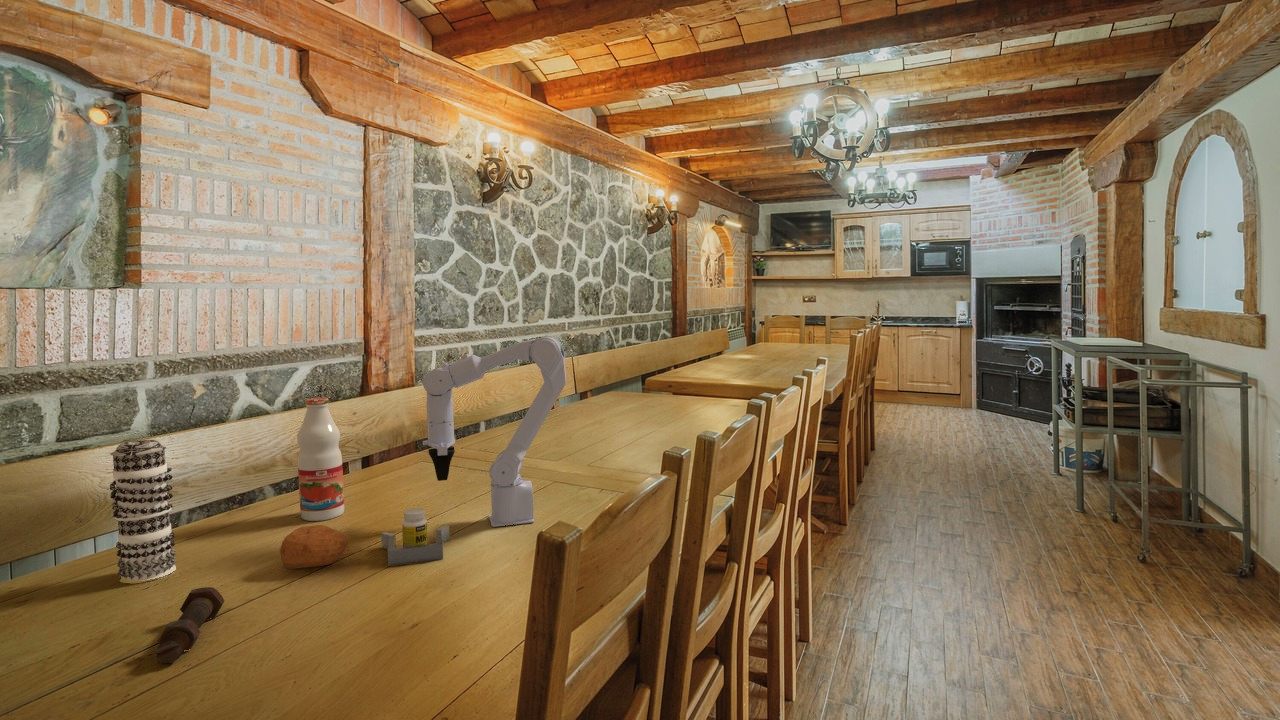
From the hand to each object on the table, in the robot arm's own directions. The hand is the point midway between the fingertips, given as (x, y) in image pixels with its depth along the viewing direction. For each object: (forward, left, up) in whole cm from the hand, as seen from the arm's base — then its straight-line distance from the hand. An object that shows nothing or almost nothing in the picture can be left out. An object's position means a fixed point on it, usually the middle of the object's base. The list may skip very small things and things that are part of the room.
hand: (442, 479), depth 145 cm
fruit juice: (+27, -15, -10) cm, 32 cm away
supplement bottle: (+6, +17, -10) cm, 20 cm away
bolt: (+38, +41, -10) cm, 57 cm away
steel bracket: (+6, +17, -10) cm, 20 cm away
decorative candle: (+53, +11, -10) cm, 55 cm away
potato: (+24, +17, -10) cm, 31 cm away
